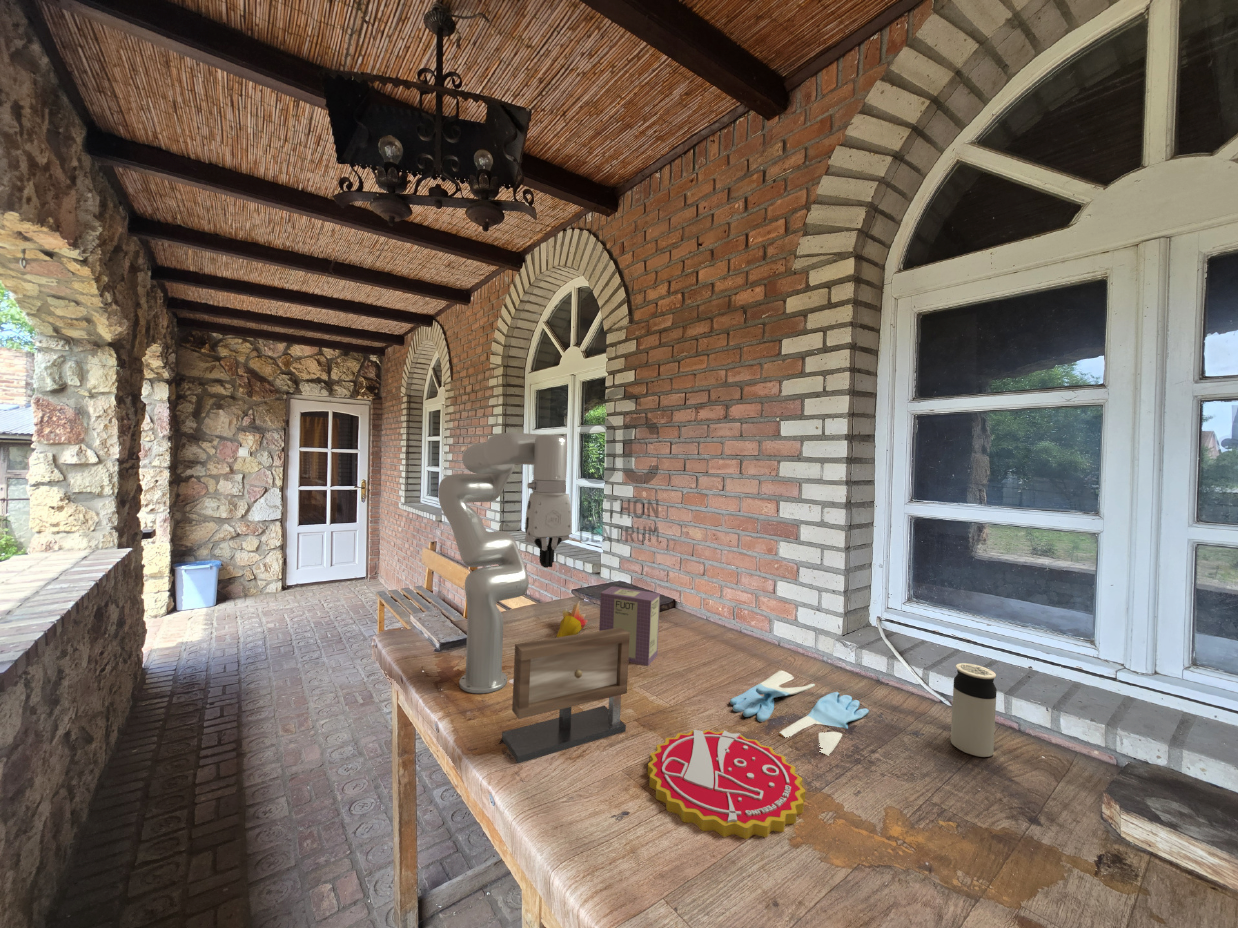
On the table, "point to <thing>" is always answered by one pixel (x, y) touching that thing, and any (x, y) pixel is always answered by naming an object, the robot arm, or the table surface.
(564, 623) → the torch
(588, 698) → the wooden drawer
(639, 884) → the table surface
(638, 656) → the box
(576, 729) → the pivot stand
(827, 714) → the rubber gloves
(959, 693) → the travel mug
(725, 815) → the decorative sign
